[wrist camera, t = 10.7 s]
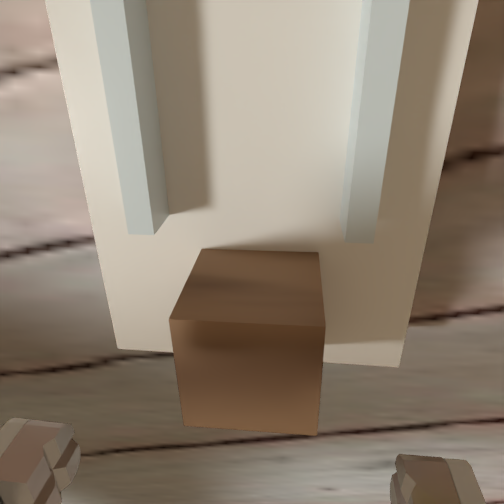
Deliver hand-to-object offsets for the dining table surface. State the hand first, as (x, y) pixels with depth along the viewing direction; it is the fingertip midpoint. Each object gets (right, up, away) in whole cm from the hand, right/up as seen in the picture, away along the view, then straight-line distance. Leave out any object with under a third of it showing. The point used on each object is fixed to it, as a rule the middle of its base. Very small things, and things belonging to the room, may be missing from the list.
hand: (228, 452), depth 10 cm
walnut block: (+1, +3, +8) cm, 9 cm away
